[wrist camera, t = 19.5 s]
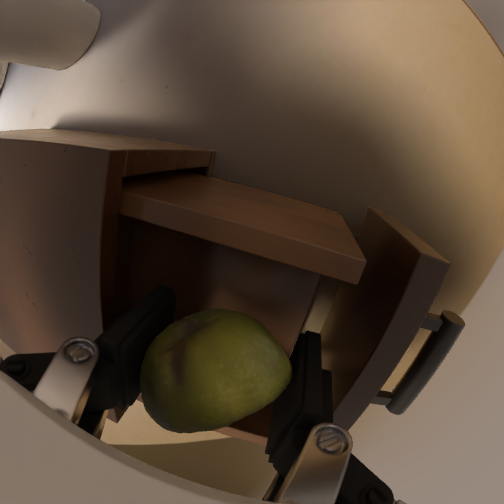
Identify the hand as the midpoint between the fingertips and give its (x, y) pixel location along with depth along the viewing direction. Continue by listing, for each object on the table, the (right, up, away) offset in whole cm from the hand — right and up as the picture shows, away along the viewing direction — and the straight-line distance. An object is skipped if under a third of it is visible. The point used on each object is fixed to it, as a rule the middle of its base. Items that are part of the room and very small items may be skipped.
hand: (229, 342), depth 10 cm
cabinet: (-10, +6, +8) cm, 14 cm away
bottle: (-14, +22, +4) cm, 26 cm away
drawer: (+2, +2, +6) cm, 7 cm away
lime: (0, 0, +1) cm, 1 cm away
